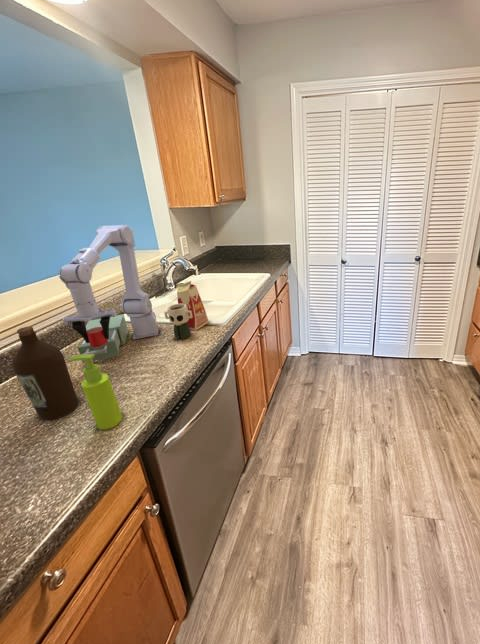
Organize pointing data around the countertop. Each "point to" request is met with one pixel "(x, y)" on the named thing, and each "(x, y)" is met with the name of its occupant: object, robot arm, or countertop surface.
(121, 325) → the green box
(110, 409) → the soap dispenser
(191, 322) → the milk carton
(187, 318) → the character mug
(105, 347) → the drawer
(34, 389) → the olive oil
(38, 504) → the countertop surface
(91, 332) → the red cube
